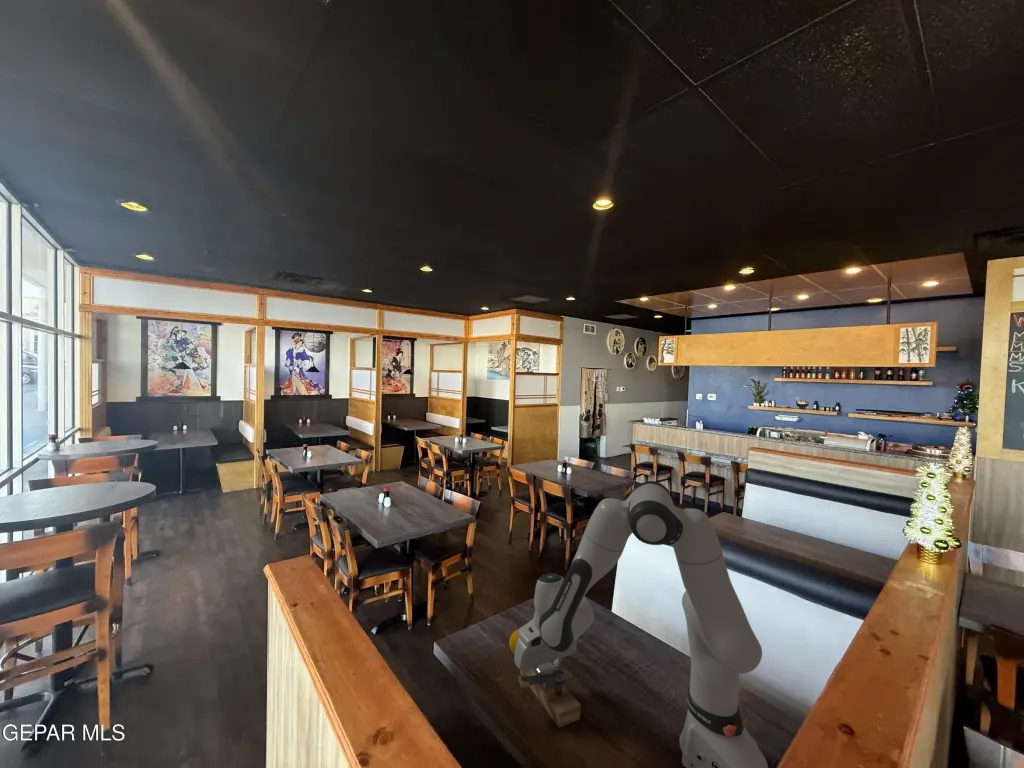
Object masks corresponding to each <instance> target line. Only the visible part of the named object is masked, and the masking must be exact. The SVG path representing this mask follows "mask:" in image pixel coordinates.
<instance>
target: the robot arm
mask: <svg viewBox="0 0 1024 768" xmlns="http://www.w3.org/2000/svg"><path fill="white" fill-rule="evenodd" d="M632 534H633V535H634V537H635V538H636V539H637V540H639V541H640V542H641V543H644V544H647V545H650V546H661V545H662V546H663V545H664V546H672V547H673V551H674V555H675V558H676V562H677V566H678V570H679V572H680V573H679V574H680V576H681V581H682V583H683V587H684V588H685V591H684V593H683V595H682V598H681V606H682V608H683V613H684V615H685V621H686V628H687V636H688V637H687V638H688V644H689V653H690V678H689V687H688V688H687V697H686V707H687V712H686V718H685V722H684V725H683V729H682V731H681V734H680V735H679V739H678V740H679V747H680V751H681V753H682V755H681V765H682V764H683V765H682V766H683V767H684V766H685V767H686V768H769V766H768V761H767V759H766V758H765V755H763V753H762V751H761V750H760V749H759V745H758V742H757V741H756V740H755V739H754V738H752V736H751V735H750V734H749V733H750V732H748V730H747V729H746V727H745V725H747V724H748V723H749V722H748V720H749V718H748V717H746V718H743V716H742V712H741V710H740V707H739V703H738V702H739V690H740V674H742V675H743V674H748V673H750V672H752V671H755V669H757V668H758V666H759V665H760V663H761V661H762V658H763V649H762V645H761V643H760V642H759V640H758V638H757V637H756V635H755V632H754V631H753V629H752V627H751V624H750V622H749V620H748V618H747V615H746V613H745V611H744V608H743V605H742V603H741V600H740V599H739V597H738V594H737V592H736V590H735V588H734V585H733V583H732V581H731V578H730V575H729V571H728V568H727V565H726V560H725V557H724V554H723V550H722V546H721V543H720V541H719V537H718V535H717V532H716V530H715V528H714V525H713V523H712V521H711V520H710V518H709V517H708V515H707V514H706V513H705V512H704V511H702V510H700V509H697V508H692V507H691V508H688V507H687V508H680V507H677V506H675V505H674V500H673V496H672V493H671V492H670V491H669V489H668V488H667V487H666V486H665V485H664V484H662V483H660V482H658V481H654V480H647V481H644V482H641V483H640V484H638V485H636V487H635V488H633V489H632V490H631V491H629V492H627V493H626V494H625V495H624V500H620V499H618V498H615V497H614V498H613V497H607V498H604V499H602V500H601V501H599V502H598V504H597V506H596V507H595V509H594V510H593V513H592V515H591V516H590V519H589V520H588V522H587V525H586V527H585V529H584V532H583V535H582V537H581V540H580V542H579V545H578V548H577V550H576V553H575V555H574V558H573V559H572V562H571V565H570V566H569V569H568V571H567V572H566V575H565V577H563V576H562V575H560V574H557V573H546V574H543V575H541V576H540V577H539V578H538V579H537V582H536V585H535V588H534V589H535V591H534V599H533V601H534V603H533V605H534V613H533V618H532V619H530V620H529V621H528V622H527V623H525V624H524V625H523V626H521V627H519V628H518V629H519V630H518V629H517V630H518V636H519V637H520V638H519V639H518V640H517V642H516V647H515V655H514V654H513V655H514V659H513V661H514V664H515V666H516V667H517V669H518V670H519V671H520V670H521V671H524V670H527V669H530V668H532V670H533V676H534V675H540V672H539V671H538V669H537V666H538V665H541V664H544V663H547V662H551V663H552V664H553V665H554V667H555V668H556V669H557V670H559V666H560V664H561V662H562V661H563V660H562V659H563V658H564V657H568V656H571V655H574V654H575V653H576V651H577V649H578V648H577V639H579V637H581V636H582V635H583V634H584V633H585V632H586V630H588V629H589V628H590V627H591V626H592V625H593V623H594V622H595V610H594V607H593V605H592V603H591V601H590V599H588V598H587V597H586V594H587V593H588V591H589V590H590V589H591V588H592V587H593V586H594V585H595V584H596V583H597V582H598V581H600V580H601V579H602V578H603V577H604V576H605V575H607V574H608V573H609V572H610V571H612V570H613V568H614V567H615V566H616V564H617V563H618V561H619V560H620V558H621V556H622V555H623V552H624V550H625V547H626V545H627V542H628V539H629V538H630V536H631V535H632ZM685 767H684V768H685Z"/></svg>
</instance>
